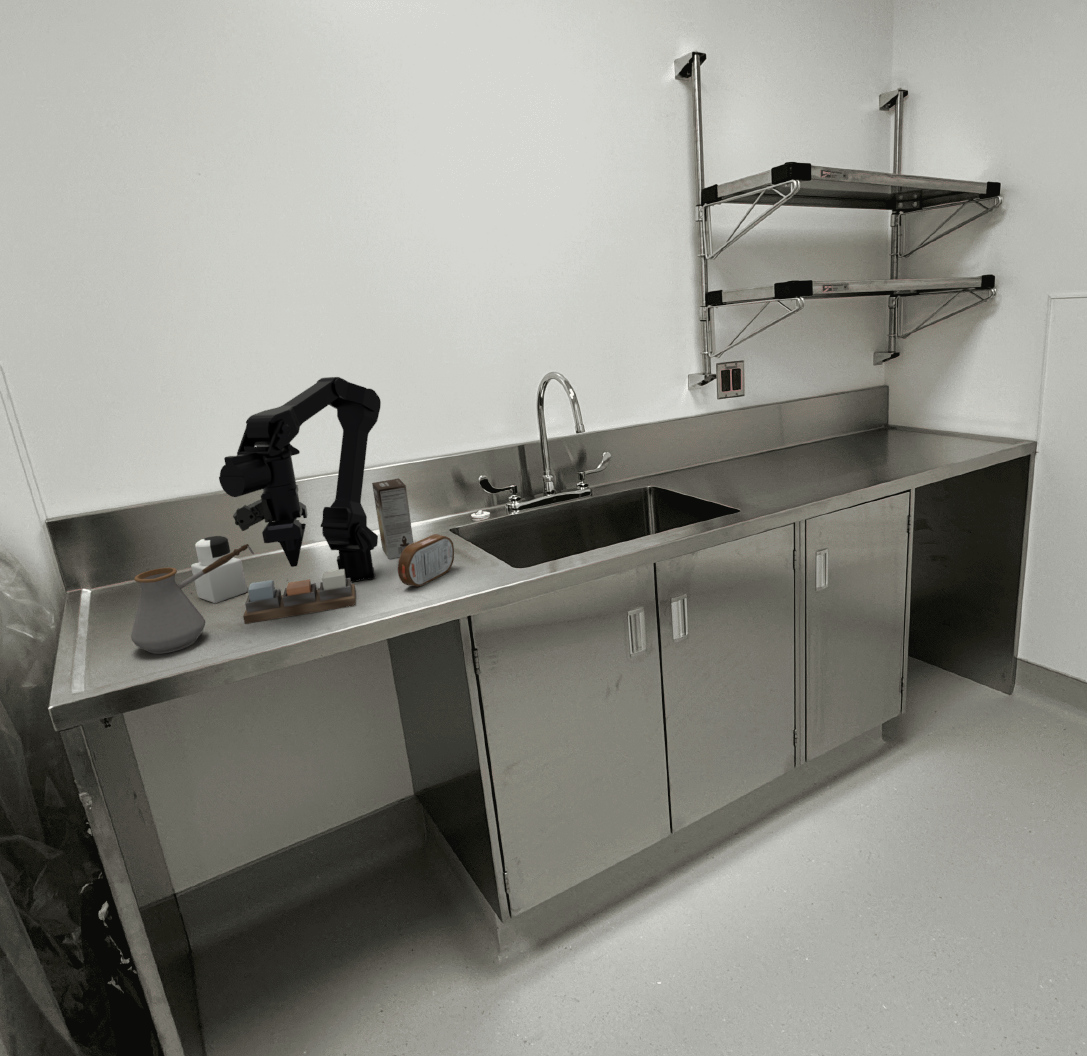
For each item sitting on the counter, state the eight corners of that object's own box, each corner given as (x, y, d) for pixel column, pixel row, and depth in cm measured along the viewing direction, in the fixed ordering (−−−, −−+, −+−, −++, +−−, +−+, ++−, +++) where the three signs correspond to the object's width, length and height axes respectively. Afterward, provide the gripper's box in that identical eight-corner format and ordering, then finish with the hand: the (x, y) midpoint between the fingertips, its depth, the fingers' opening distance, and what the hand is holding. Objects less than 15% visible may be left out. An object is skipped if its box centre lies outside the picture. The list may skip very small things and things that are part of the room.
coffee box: (381, 549, 171) (371, 482, 166) (408, 544, 173) (398, 477, 169) (388, 559, 162) (377, 489, 158) (416, 554, 165) (407, 484, 160)
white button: (346, 583, 141) (344, 568, 140) (346, 590, 137) (344, 575, 137) (325, 586, 140) (322, 572, 139) (324, 593, 137) (321, 578, 136)
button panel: (355, 590, 144) (352, 575, 143) (355, 605, 136) (352, 588, 135) (250, 607, 140) (247, 591, 139) (244, 623, 132) (241, 606, 131)
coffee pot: (132, 665, 119) (109, 578, 114) (137, 640, 129) (116, 559, 125) (270, 633, 127) (254, 551, 123) (265, 612, 137) (249, 535, 133)
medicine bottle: (230, 586, 154) (219, 531, 150) (248, 592, 149) (236, 535, 146) (197, 597, 148) (184, 541, 145) (214, 604, 144) (201, 545, 141)
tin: (447, 567, 154) (442, 528, 152) (459, 568, 152) (454, 529, 150) (399, 591, 142) (393, 550, 140) (411, 593, 140) (405, 551, 138)
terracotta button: (312, 594, 140) (310, 579, 139) (311, 601, 136) (308, 585, 135) (290, 597, 139) (288, 582, 138) (289, 604, 135) (286, 589, 135)
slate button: (276, 594, 138) (273, 579, 138) (274, 601, 135) (271, 586, 134) (253, 598, 138) (250, 583, 137) (251, 605, 134) (247, 590, 133)
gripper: (239, 480, 139) (254, 558, 143) (222, 500, 121) (241, 589, 125) (300, 472, 141) (314, 550, 145) (293, 491, 124) (308, 578, 128)
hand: (294, 566), depth 136 cm, fingers closed
